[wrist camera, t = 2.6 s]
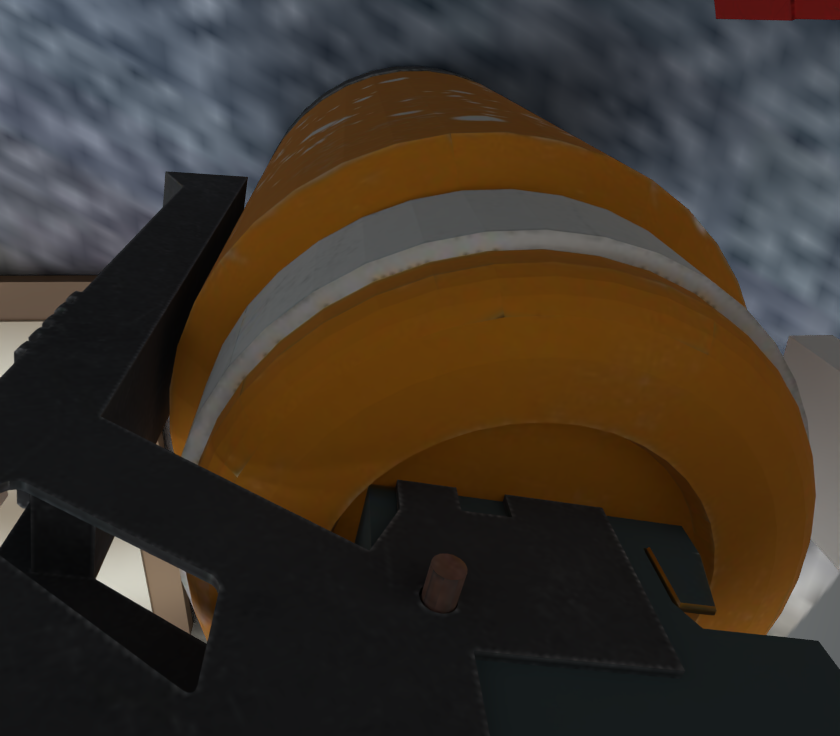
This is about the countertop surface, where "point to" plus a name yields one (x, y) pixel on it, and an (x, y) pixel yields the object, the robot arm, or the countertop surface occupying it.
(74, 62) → the countertop surface
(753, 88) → the countertop surface
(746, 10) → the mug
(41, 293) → the box board
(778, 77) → the countertop surface
